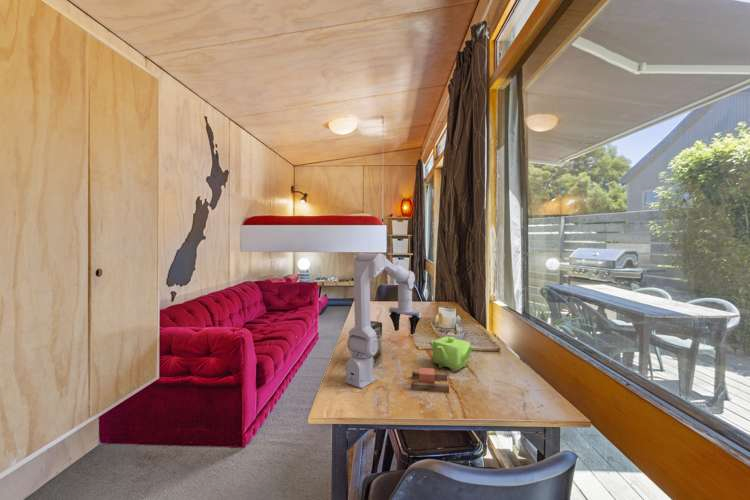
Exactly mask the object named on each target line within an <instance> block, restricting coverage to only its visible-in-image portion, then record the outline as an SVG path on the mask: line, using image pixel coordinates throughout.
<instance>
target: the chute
mask: <svg viewBox="0 0 750 500" xmlns="http://www.w3.org/2000/svg"><path fill="white" fill-rule="evenodd" d="M411 379H413V380H419V371H412V370H411ZM435 381H439V382H440V381H441V382H442V381H443V382H447V381H448V373H442V372H435ZM410 384H411V387H410V388H411V391H419V392H420V391H421V392H433V393H447V394H448V393H450V384H449V383H448V384H447V383H446V384H445V383H435V384H434V383H419V381H418V382H417V381H411V383H410Z"/></svg>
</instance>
